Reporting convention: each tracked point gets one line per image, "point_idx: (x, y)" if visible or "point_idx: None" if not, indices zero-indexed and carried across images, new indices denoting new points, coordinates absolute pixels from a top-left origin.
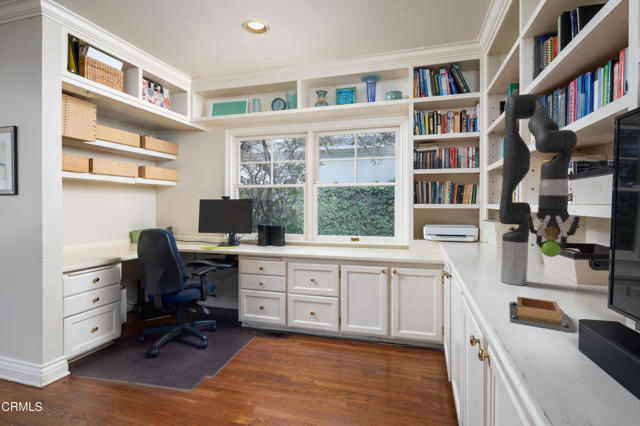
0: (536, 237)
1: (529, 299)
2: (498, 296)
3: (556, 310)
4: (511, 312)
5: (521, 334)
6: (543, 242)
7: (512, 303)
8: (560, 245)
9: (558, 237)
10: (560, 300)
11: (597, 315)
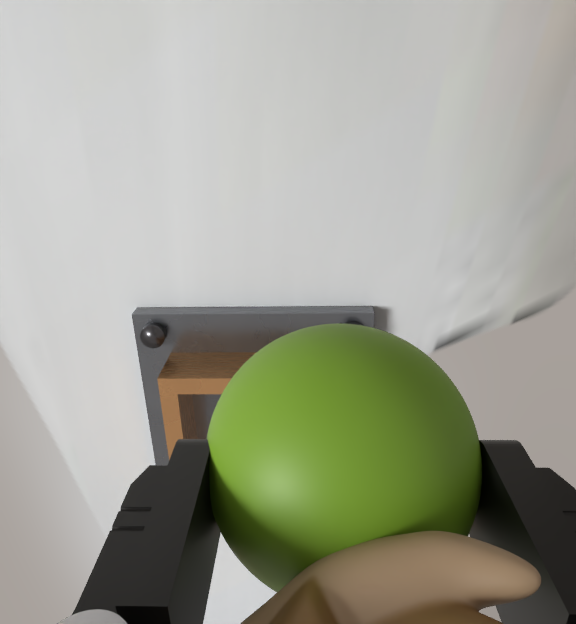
0: (91, 578)
1: (217, 392)
2: (53, 146)
3: None
4: (160, 456)
5: (210, 588)
6: (233, 550)
7: (148, 345)
8: (486, 483)
9: (507, 598)
10: (417, 4)
11: (536, 246)
